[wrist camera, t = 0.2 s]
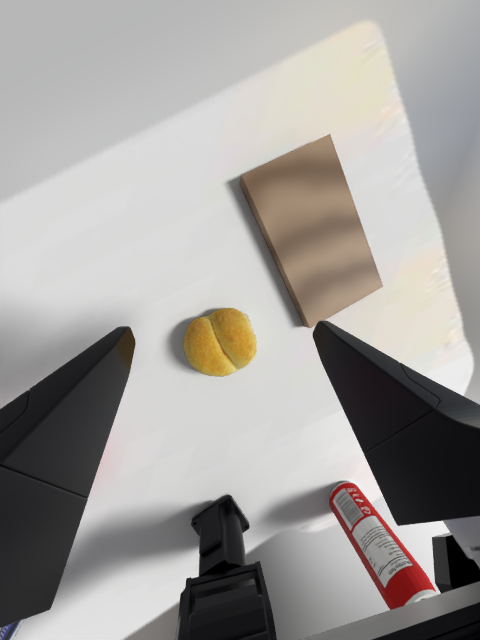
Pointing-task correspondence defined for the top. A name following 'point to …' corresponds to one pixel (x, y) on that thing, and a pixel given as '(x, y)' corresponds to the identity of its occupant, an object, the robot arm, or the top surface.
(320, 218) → the walnut chopping board
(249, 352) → the bread roll
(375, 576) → the soda can
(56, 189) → the top surface
